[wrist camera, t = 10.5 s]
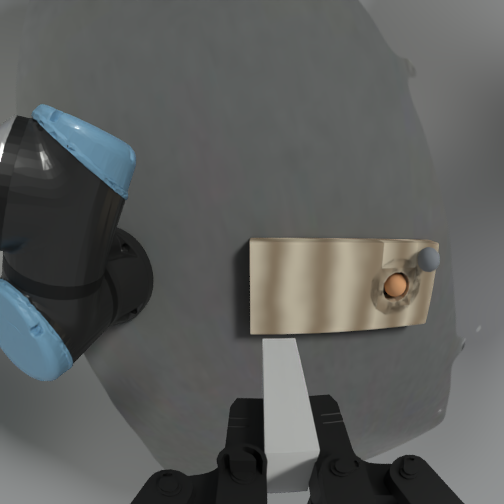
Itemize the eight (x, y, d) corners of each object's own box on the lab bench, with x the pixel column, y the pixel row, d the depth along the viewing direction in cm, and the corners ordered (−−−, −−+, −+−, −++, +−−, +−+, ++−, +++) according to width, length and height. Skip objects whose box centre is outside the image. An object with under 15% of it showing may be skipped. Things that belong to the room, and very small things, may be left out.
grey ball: (411, 268, 35) (423, 275, 32) (414, 244, 35) (427, 249, 31) (429, 268, 35) (442, 274, 32) (432, 244, 35) (445, 250, 31)
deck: (250, 324, 41) (250, 334, 38) (250, 237, 38) (249, 241, 35) (416, 315, 40) (425, 323, 37) (428, 239, 37) (438, 243, 34)
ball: (398, 301, 35) (408, 295, 37) (400, 276, 35) (410, 273, 36) (379, 296, 38) (390, 291, 40) (380, 273, 38) (391, 270, 39)
